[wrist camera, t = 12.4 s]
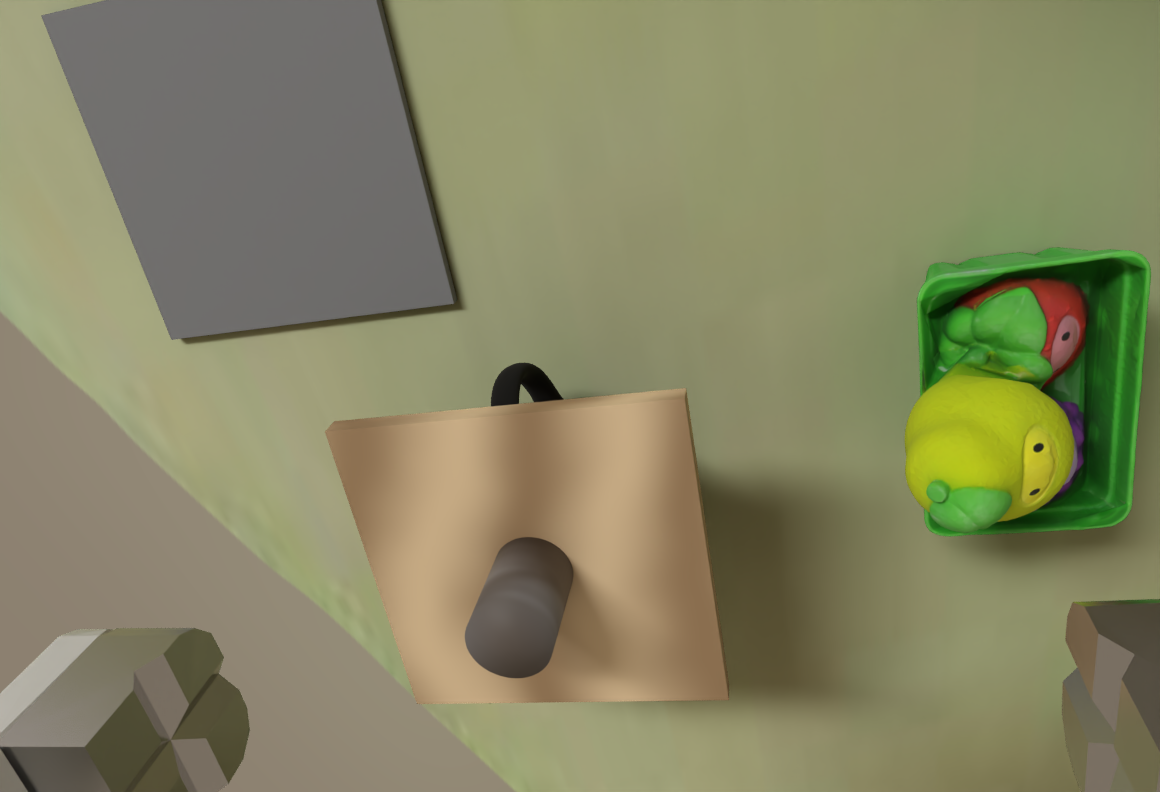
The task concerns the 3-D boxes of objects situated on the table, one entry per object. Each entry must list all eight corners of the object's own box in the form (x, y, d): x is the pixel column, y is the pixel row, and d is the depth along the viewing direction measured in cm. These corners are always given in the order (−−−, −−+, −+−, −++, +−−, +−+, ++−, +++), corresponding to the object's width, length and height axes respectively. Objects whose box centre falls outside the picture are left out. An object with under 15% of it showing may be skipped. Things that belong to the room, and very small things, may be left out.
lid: (685, 387, 29) (676, 459, 25) (729, 684, 34) (726, 785, 30) (334, 421, 32) (271, 489, 28) (423, 690, 37) (381, 782, 33)
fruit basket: (1087, 462, 38) (1208, 635, 28) (878, 479, 41) (922, 644, 31) (1099, 210, 34) (1248, 309, 24) (863, 243, 36) (909, 347, 26)
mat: (365, -60, 34) (360, -60, 34) (457, 299, 40) (454, 303, 40) (49, 15, 38) (41, 15, 37) (177, 336, 44) (171, 339, 43)
